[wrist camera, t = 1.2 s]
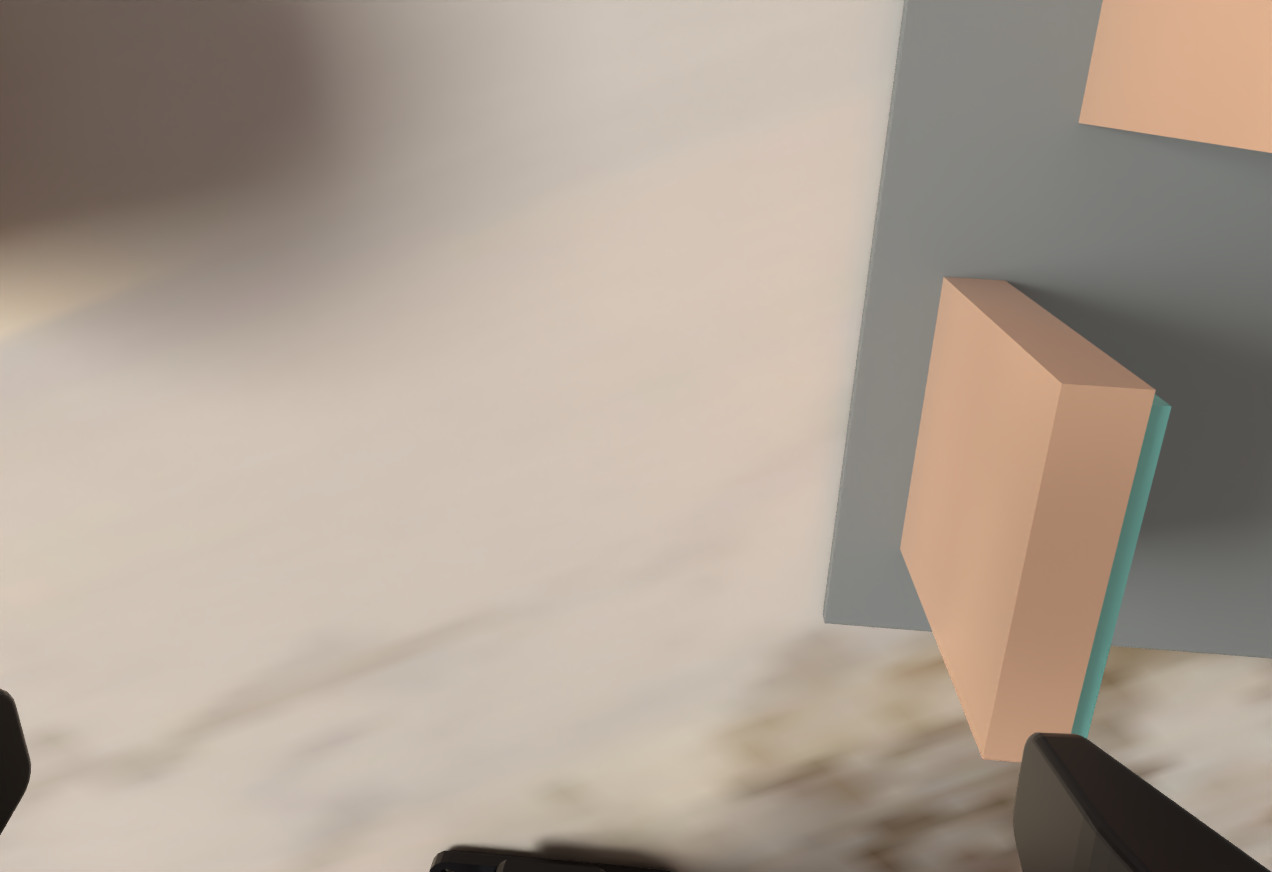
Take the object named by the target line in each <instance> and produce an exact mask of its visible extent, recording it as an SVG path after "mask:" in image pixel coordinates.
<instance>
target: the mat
mask: <svg viewBox="0 0 1272 872" xmlns="http://www.w3.org/2000/svg"><path fill="white" fill-rule="evenodd" d="M1102 2H1103V0H905V1H904V8H903V16H902V23H901V31H900V38H899V46H898V53H897V61H896V68H895V76H894V83H893V91H892V98H891V106H890V113H889V121H888V128H887V136H886V143H885V151H884V158H883V166H882V174H881V181H880V189H879V196H878V204H877V211H876V219H875V226H874V234H873V241H872V249H871V256H870V264H869V271H868V279H867V286H866V294H865V301H864V309H863V316H862V324H861V331H860V339H859V346H858V354H857V362H856V369H855V377H854V384H853V392H852V399H851V407H850V414H849V422H848V429H847V437H846V444H845V452H844V459H843V467H842V474H841V482H840V489H839V497H838V504H837V512H836V519H835V527H834V535H833V542H832V550H831V557H830V565H829V572H828V580H827V587H826V595H825V602H824V610H823V617H824V622H825V623H830V624H842V625H855V626H868V627H880V628H893V629H906V630H918V631H931V632H932V629H931V627H930V624H929V622H928V619H927V616H926V614H925V611H924V609H923V606H922V604H921V601H920V599H919V596H918V594H917V591H916V589H915V586H914V583H913V581H912V578H911V576H910V573H909V571H908V568H907V566H906V563H905V561H904V558H903V555H902V553H901V550H900V545H901V539H902V533H903V526H904V520H905V514H906V508H907V502H908V495H909V489H910V483H911V477H912V470H913V464H914V458H915V452H916V445H917V439H918V433H919V427H920V421H921V414H922V408H923V402H924V396H925V389H926V383H927V377H928V371H929V364H930V358H931V352H932V346H933V339H934V333H935V327H936V321H937V315H938V308H939V302H940V296H941V290H942V283H943V277H956V278H972V279H989V280H1005V281H1007V282H1008V283H1009V284H1011V285H1012V286H1014V287H1015V288H1016V289H1018V290H1019V291H1020V292H1022V293H1023V294H1025V295H1026V296H1027V297H1029V298H1030V299H1031V300H1033V301H1034V302H1036V303H1037V304H1038V305H1040V306H1041V307H1042V308H1044V309H1045V310H1047V311H1048V312H1049V313H1051V314H1052V315H1053V316H1055V317H1056V318H1058V319H1059V320H1060V321H1062V322H1063V323H1064V324H1066V325H1067V326H1069V327H1070V328H1071V329H1073V330H1074V331H1075V332H1077V333H1078V334H1080V335H1081V336H1082V337H1084V338H1085V339H1086V340H1088V341H1089V342H1091V343H1092V344H1093V345H1095V346H1096V347H1097V348H1099V349H1100V350H1102V351H1103V352H1104V353H1106V354H1107V355H1108V356H1110V357H1111V358H1113V359H1114V360H1115V361H1117V362H1118V363H1119V364H1121V365H1122V366H1124V367H1125V368H1126V369H1128V370H1129V371H1130V372H1132V373H1133V374H1135V375H1136V376H1137V377H1139V378H1140V379H1141V380H1143V381H1144V382H1146V383H1147V384H1148V385H1150V386H1151V387H1152V388H1154V389H1155V390H1156V391H1155V395H1157V396H1158V397H1160V398H1161V399H1162V400H1164V401H1165V402H1166V403H1168V404H1169V405H1170V406H1172V407H1171V410H1170V414H1169V418H1168V422H1167V426H1166V430H1165V434H1164V438H1163V442H1162V446H1161V450H1160V454H1159V458H1158V461H1157V465H1156V469H1155V473H1154V477H1153V481H1152V485H1151V489H1150V493H1149V497H1148V501H1147V505H1146V509H1145V512H1144V516H1143V520H1142V524H1141V528H1140V532H1139V536H1138V540H1137V544H1136V548H1135V552H1134V556H1133V560H1132V563H1131V567H1130V571H1129V575H1128V579H1127V583H1126V587H1125V591H1124V595H1123V599H1122V603H1121V607H1120V611H1119V614H1118V618H1117V622H1116V626H1115V630H1114V634H1113V638H1112V642H1111V646H1121V647H1134V648H1146V649H1159V650H1172V651H1184V652H1197V653H1210V654H1222V655H1235V656H1248V657H1260V658H1272V153H1268V152H1262V151H1256V150H1249V149H1243V148H1236V147H1230V146H1223V145H1217V144H1211V143H1204V142H1198V141H1191V140H1185V139H1179V138H1172V137H1166V136H1159V135H1153V134H1146V133H1140V132H1134V131H1127V130H1121V129H1114V128H1108V127H1101V126H1095V125H1089V124H1082V123H1079V118H1080V113H1081V108H1082V103H1083V98H1084V93H1085V88H1086V83H1087V78H1088V73H1089V68H1090V62H1091V57H1092V52H1093V47H1094V42H1095V37H1096V32H1097V27H1098V22H1099V17H1100V12H1101V7H1102Z"/></svg>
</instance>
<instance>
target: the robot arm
mask: <svg viewBox="0 0 1272 872" xmlns="http://www.w3.org/2000/svg"><path fill="white" fill-rule="evenodd" d="M30 774H31V762H30V757H29V753H28V749H27V745H26V742H25V738H24V734H23V730H22V727H21V723H20V719H19V715H18V712H17V708H16V704H15V702H14V699H13V698H12V697H11V695H10V694H9V693H8V692H7V691H4V690H2V689H0V835H1V833H2V831H3V829H4V828H5V826H6V824H7V823H8V821H9V819H10V817H11V816H12V814H13V812H14V810H15V809H16V807H17V805H18V804H19V802H20V800H21V798H22V797H23V795H24V793H25V791H26V789H27V786H28V783H29V779H30ZM1013 827H1014V836H1015V841H1016V846H1017V850H1018V854H1019V858H1020V862H1021V867H1022V871H1023V872H1271V871H1269V870H1268V869H1267V868H1265V867H1264V866H1262V865H1261V864H1260V863H1258V862H1257V861H1256V860H1254V859H1253V858H1251V857H1250V856H1249V855H1247V854H1246V853H1244V852H1243V851H1242V850H1240V849H1239V848H1237V847H1236V846H1235V845H1233V844H1232V843H1231V842H1229V841H1228V840H1226V839H1225V838H1224V837H1222V836H1221V835H1219V834H1218V833H1217V832H1215V831H1214V830H1213V829H1211V828H1210V827H1208V826H1207V825H1206V824H1204V823H1203V822H1201V821H1200V820H1199V819H1197V818H1196V817H1194V816H1193V815H1192V814H1190V813H1189V812H1188V811H1186V810H1185V809H1183V808H1182V807H1181V806H1179V805H1178V804H1176V803H1175V802H1174V801H1172V800H1171V799H1170V798H1168V797H1167V796H1165V795H1164V794H1163V793H1161V792H1160V791H1158V790H1157V789H1156V788H1154V787H1153V786H1151V785H1150V784H1149V783H1147V782H1146V781H1145V780H1143V779H1142V778H1140V777H1139V776H1138V775H1136V774H1135V773H1133V772H1132V771H1131V770H1129V769H1128V768H1126V767H1125V766H1124V765H1122V764H1121V763H1120V762H1118V761H1117V760H1115V759H1114V758H1113V757H1111V756H1110V755H1108V754H1107V753H1106V752H1104V751H1103V750H1102V749H1100V748H1099V747H1097V746H1096V745H1095V744H1093V743H1092V742H1090V741H1089V740H1088V739H1086V738H1084V737H1083V736H1081V735H1078V734H1067V733H1042V732H1036V733H1033V734H1032V735H1031V736H1029V737H1028V739H1027V741H1026V743H1025V746H1024V750H1023V756H1022V762H1021V768H1020V774H1019V780H1018V786H1017V792H1016V798H1015V804H1014V811H1013ZM446 869H448V870H452V871H454V872H669V871H665V870H659V869H648V868H637V867H627V866H616V865H605V864H594V863H583V862H572V861H561V860H550V859H539V858H528V857H517V856H507V855H496V854H485V853H474V852H463V851H452V850H451V851H443V852H441V853H438V854H437V855H436V857H435V858H434V860H433V863H432V866H431V869H430V872H447V871H446Z"/></svg>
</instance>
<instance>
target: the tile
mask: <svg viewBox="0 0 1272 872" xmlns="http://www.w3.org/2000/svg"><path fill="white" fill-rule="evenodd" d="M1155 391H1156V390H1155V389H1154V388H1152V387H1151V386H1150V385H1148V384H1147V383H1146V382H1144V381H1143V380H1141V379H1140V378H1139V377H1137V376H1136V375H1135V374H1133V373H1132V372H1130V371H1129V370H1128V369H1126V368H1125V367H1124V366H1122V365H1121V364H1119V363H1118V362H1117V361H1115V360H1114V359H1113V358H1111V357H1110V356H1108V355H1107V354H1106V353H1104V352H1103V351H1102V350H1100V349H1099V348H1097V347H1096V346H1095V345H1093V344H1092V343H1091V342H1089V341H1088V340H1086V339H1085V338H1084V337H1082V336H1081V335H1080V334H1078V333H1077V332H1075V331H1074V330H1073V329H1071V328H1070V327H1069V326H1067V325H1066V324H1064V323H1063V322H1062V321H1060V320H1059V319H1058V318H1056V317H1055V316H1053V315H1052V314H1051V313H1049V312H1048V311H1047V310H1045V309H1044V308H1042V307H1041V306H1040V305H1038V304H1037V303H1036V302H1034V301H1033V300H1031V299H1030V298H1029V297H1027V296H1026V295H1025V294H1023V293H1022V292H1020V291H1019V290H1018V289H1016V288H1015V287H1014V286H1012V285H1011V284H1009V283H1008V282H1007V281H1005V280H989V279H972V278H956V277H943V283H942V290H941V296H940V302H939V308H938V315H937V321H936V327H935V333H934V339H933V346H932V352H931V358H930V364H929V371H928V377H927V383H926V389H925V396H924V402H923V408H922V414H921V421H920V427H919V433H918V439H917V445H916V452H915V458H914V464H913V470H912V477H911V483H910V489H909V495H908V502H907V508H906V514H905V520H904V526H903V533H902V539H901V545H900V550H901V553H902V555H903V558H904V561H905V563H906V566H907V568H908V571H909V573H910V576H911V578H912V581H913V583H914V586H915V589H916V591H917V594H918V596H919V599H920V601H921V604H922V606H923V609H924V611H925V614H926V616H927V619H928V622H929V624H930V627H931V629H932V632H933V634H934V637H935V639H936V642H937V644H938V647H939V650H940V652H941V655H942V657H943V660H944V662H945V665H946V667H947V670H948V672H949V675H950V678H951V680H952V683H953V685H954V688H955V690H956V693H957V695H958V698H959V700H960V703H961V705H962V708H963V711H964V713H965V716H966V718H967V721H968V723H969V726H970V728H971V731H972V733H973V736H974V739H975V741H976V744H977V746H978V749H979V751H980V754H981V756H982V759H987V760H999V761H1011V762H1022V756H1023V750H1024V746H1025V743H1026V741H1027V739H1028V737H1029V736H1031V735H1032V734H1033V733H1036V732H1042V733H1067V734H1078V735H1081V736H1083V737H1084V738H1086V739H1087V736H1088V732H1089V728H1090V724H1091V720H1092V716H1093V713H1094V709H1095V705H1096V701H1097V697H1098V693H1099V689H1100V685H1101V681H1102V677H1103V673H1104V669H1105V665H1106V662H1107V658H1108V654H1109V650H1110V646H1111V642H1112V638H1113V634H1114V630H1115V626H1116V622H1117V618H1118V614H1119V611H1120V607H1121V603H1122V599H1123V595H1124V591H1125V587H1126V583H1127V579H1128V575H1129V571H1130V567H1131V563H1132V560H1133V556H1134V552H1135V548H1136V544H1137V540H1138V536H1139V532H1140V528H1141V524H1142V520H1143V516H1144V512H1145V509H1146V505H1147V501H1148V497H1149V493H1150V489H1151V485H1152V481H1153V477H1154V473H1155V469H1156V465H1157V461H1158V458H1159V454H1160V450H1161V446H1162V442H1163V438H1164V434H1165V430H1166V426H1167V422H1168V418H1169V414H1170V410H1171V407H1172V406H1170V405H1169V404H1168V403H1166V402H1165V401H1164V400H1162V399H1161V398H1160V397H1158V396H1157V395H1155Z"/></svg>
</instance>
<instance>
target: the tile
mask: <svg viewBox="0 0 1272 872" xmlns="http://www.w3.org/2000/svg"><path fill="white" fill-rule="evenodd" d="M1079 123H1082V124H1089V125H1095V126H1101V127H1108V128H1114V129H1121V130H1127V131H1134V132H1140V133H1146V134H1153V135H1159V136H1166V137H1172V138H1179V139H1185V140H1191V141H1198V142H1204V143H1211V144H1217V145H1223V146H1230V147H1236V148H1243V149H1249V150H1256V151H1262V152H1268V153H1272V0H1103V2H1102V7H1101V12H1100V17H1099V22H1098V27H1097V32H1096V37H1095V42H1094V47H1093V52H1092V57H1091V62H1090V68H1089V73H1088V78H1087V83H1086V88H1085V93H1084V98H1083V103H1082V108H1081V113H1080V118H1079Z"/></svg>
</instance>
